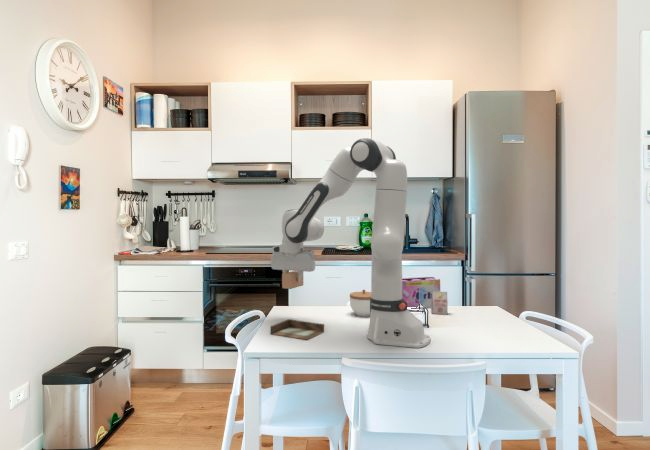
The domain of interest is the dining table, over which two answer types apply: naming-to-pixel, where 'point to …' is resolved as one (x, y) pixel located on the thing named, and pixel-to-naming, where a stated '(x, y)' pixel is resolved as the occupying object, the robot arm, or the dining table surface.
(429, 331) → the dining table surface
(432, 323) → the dining table surface
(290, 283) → the terracotta block
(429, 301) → the gum box
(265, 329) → the dining table surface
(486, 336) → the dining table surface
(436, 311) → the small beige carton
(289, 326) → the brown wooden flat frame
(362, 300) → the lidded bowl
